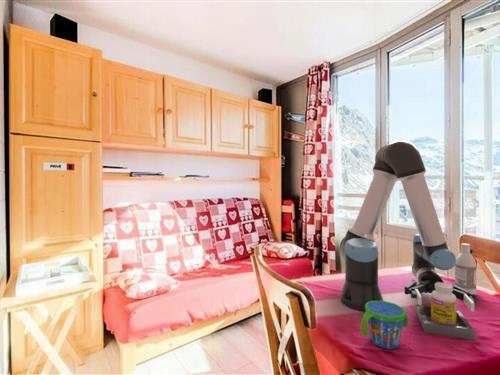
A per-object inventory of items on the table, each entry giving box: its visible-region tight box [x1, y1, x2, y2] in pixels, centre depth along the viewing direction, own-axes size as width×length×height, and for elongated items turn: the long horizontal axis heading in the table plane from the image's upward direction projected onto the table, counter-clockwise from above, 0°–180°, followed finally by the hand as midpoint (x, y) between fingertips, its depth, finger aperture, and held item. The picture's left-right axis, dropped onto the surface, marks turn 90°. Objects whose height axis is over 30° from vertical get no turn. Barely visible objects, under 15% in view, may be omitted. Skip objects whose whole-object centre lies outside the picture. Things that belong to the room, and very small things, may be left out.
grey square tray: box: [416, 305, 475, 341], centre depth 89 cm, size 12×12×3 cm
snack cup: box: [359, 300, 409, 350], centre depth 81 cm, size 16×10×10 cm
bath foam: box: [454, 242, 477, 295], centre depth 115 cm, size 7×7×20 cm
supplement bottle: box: [430, 282, 457, 326], centre depth 89 cm, size 7×7×13 cm
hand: (445, 303), depth 86 cm, fingers open, 13 cm apart
